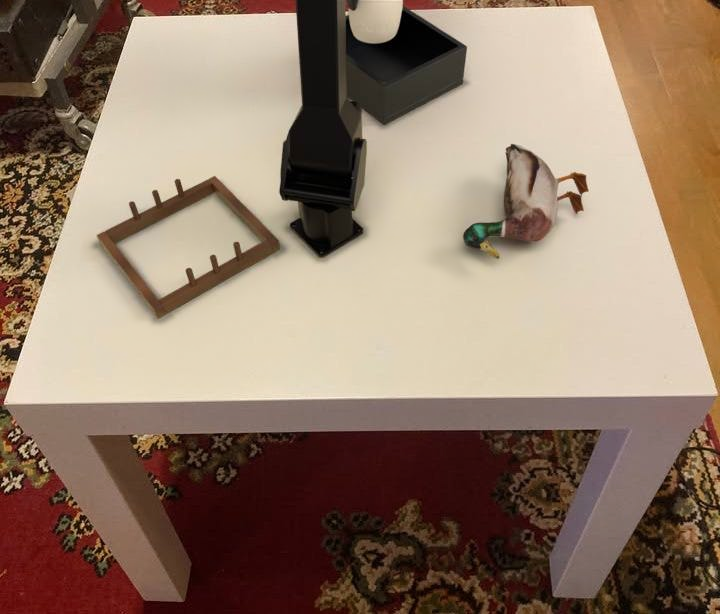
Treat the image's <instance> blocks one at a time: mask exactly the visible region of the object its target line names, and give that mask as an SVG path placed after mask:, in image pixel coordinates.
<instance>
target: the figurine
mask: <svg viewBox="0 0 720 614" xmlns="http://www.w3.org/2000/svg"><path fill="white" fill-rule="evenodd" d="M403 6H404V0H358V3H357V7H356V10H355V11H352V10H351V9H349V8H347V10H348V15H349V21H350V26H351V30H352V32H353V35H354V36H355V37H356V38H357V39H358V40H360V41H362V42H366V43H383V42H386V41H389V40H391V39H392V38H393V37H394V36H395V35H396V33H397V31H398V28H399V24H400V19H401V13H402V7H403Z"/></svg>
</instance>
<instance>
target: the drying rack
mask: <svg viewBox="0 0 720 614" xmlns="http://www.w3.org/2000/svg"><path fill="white" fill-rule="evenodd" d="M174 184H175V188H176V191H177V194H175V195H174V196H172V197H170V198H168V199H165V200H164V201H162V200H161V196H160V193H159V190H158V189H153V190H152V191H151V195H152V199H153V200H154V203H155V205H154V206H152V207H150V208H148V209H146V210H144V211H142V212H140V213H139V210H138V208H137V205H136V202H135V201H130V202H128V206H129V209H130V212H131V214H132V217H129V218H127V219H125V220H124V221H122V222H120V223H118V224H116V225H114V226H112V227H110V228H108V229H106V230H104V231H101V232H99V233H98V234H96V237H97V240H98V242H99V245H100V246H101V247H102V249H103V250H104V251H105V252H106V253H107V255H108V256H109V258H110V259H111V260H112V261H113V263H115V265H116V266H117V267H118V269H119V270H120V271H121V273H122V275H123V276H124V277H125V278H126V279H127V281H128V282H129V283H130V284H131V286H132V287H133V289H134V290H135V291H136V292H137V293H138V295H139V296H140V297H141V299H142V300H143V301H144V303H145V304H146V305H147V306H148V308H149V309H150V310H151V312H152V313H153V314H154V316H155V317H156V318H157V319H161V318H162V317H164V316H166V314H169V313H171V312H172V311H174V310H176V309H177V308H179V307H181V306H183V305H185V304H186V303H188V302H190V301H192V300H193V299H195V298H197V297H199V296H200V295H202V294H204V293H206V292H207V291H209V290H212V289H213V288H214V287H216V286H218V285H219V284H222V283H223V282H225V281H226V280H228V279H230V278H232V277H234V276H235V275H237V274H239V273H241V272H242V271H244V270H246V269H248V268H249V267H252V266H254V265H255V264H256V263H258V262H260V261H262V260H264V259H265V258H268V257H269V256H270V255H272V254H274V253H276V252H278V251H280V249H281V248H280V241H279V239H278V238H277V237H276V236H275V235H274V234H273V233H272V232H271V231H270V229H268V228H267V227H266V226H265V225H264V224H263V223H262V222H261V220H260V219H259V218H258V217H256V215H254V214H253V213H252V211H250V210H249V208H248V207H246V206H245V205H244V204H243V202H242V201H241V200H239V198H238V197H237V196H236V195H234V193H233V192H232V191H230V189H229V188H228V187H226V185H225V184H223V182H222V181H221V180H220V179H219V178H218V177H217V176H216V175H213V176H211V177H209V178H208V179H205V180H204V181H202V182H199V183H198V184H196V185H193V186H191V187H190V188H187V189H185V190H184V188H183V185H182V182H181V179H180V178H176V179H175V180H174ZM212 194H215V195H216V196H217V197H218V199H220V200H221V201H222V202H223V204H225V205H226V206H227V207H228V208H229V209H230V210H231V211H232V212H233V214H235V216H236V217H238V218H239V220H240V221H241V222H242V223H243V224H244V225H245V226H246V227H247V228H248V229H249V230H250V231H251V232H252V233H253V234H254V236H256V237H257V239H259V241H261V242H260V243H258V244H256V245H254V246H252V247H250V248H249V249H247V250H245V251H243V252H242V248H241V244H240V242H239V241H234V242H233V243H232V246H233V249H234V254H235V257H233V258H230V259H229V260H227V261H225V262H223V263H222V264H220V265H219V262H218V258H217V255H216V254H211V255H209V261H210V265H211V268H212V269H211V270H209V271H207V272H206V273H204V274H201V276H198V277H197V278H195V275H194V271H193V268H191V267H187V268H186V269H185V274H186V277H187V280H188V283H185V285H183V286H181V287H179V288H177V289H176V290H174V291H172V292H170V293H168V294H167V295H165V296H163V297H161V298H159V299H158V297H157V296H156V295H155V294H154V292H153V291H152V289H151V288H150V287H149V286H148V285H147V284H146V282H145V281H144V280H143V278H142V277H141V276H140V274H139V273H138V272H137V271H136V269H135V268H134V267H133V266H132V264H131V262H129V260H128V259H127V258H126V257H125V256H124V254H123V253H122V252H121V250H120V249H119V248H118V247H117V245H116V244H117V243H119V242H121V241H122V240H125V239H127V238H129V237H130V236H132V235H134V234H136V233H139V232H140V231H142V230H145V229H146V228H149V227H150V226H152V225H154V224H157V223H158V222H160V221H162V220H164V219H165V218H167V217H170V216H172V215H173V214H175V213H178V212H180V211H181V210H183V209H186V208H187V207H189V206H191V205H193V204H195V203H197V202H199V201H200V200H202V199H204V198H207V197H209V196H210V195H212Z"/></svg>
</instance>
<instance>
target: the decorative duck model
mask: <svg viewBox="0 0 720 614" xmlns="http://www.w3.org/2000/svg"><path fill="white" fill-rule="evenodd" d="M504 153H505V158H506V180H505V185H504V192H503V212H504V217H505V218H504V219H503V220H501V221H493V222H491V221H490V222H480V221H479V222H474V223H472V224H471V225H470V226H468V227H467V228H466V229H465V230H464V231H463V234H462V240H463V242H464V244H465V246H468V247H470V248H472V249H477V250H481V251H484V252H486V253H488V254H489V256H491V257H493V258H494V259H495V260H499V259H500V253H499V252H498V250H496V249H495V248H494V247H493V246H492V245H491V244H490V243H489V242H488V238H490V237H491V238H492V237H495V238H496V237H497V238H498V237H499V238H508V239H514V240H518V241H524V242H531V243H536V242H540V241H541V240H543V238H545V237H546V236H547V235H548V234H549V232H550V231H551V230H552V228H553V227H554V224H555V222H556V219H557V216H558V206H559V205H558V202H559V201H561V200H563V199H566V198H568V199H569V201H570V205H571V207H572V210H573V212H574V214H576V215H578V213H579V212H584V211H585V210H584V205H583V200H582V197H583V194H584V193H589V191H590V190H589V187H588V183H587V175H586V174H585V173H582V172H581V173H578V172H576V171H574V172H571V173H569V174H568V175H565V176H561V177H558V178H556V177H555V175H554V174H553V172H552V170H551V168H550V166H549V165H548V164H547V163H546V162H545V160H543V159H542V158H541V157H540V156H538V155H537V154H535V153H534V152H533V151H531V150H529V149H528V148H526V147H524V146H523V145H519V144H515V143H510V145H509V146H507V147H505V151H504ZM571 179H572V180H573V182H574V184H575V187H576V188H577V191H578V193H579V194H578V193H576V192H573V191H571V190H570V191H567V192H566V193H564V194H562V195H560V196H558V190H559V184H560V183H562V182H564V181H567V180H571Z"/></svg>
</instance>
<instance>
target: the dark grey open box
mask: <svg viewBox="0 0 720 614" xmlns="http://www.w3.org/2000/svg"><path fill="white" fill-rule="evenodd" d="M467 51H468V46H467V45H466V44H464V43H463V42H461V41H460V40H458V39H456V38H454V37H453V36H452V35H450V34H449V33H447V32H445V31H444V30H442V29H440V28H439V27H437V26H436V25H434V24H433V23H431V22H430V21H428V20H426V19H425V18H424V17H422V16H420V15H419V14H417V13H416V12H415V11H412V10H411V9H409V8H408V7H407V6H405V5H403V7H402V13H401V19H400V24H399V28H398V31H397V33H396V35H395V36H394V37H393V38H392V39H391V40H389V41H386V42H383V43H366V42H362V41H360V40H358V39H357V38H356V37H355V36H354V35H353V32H352V30H351V26H350V21H349V14H346V94H347V97H348V99H349V100H350V101H355V102H359V104H360V106H361V108H362V110H364V111H365V112H366V113H367V114H369V115H370V116H371V117H373V118H374V119H376V121H378V122H379V123H381V125H383V126H386V125H387V124H390V123H391V122H393V121H396V120H397V119H399V118H401V117H402V116H404V115H406V114H408V113H411V112H412V111H414V110H416V109H418V108H419V107H421V106H424V105H425V104H428V103H430V102H431V101H433V100H434V99H438V98H439V97H440V96H443V95H445V94H446V93H448V92H450V91H452V90H454V89H456V88H458V87H459V86H461V85H463V84H464V76H465V68H466V60H467Z"/></svg>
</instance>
